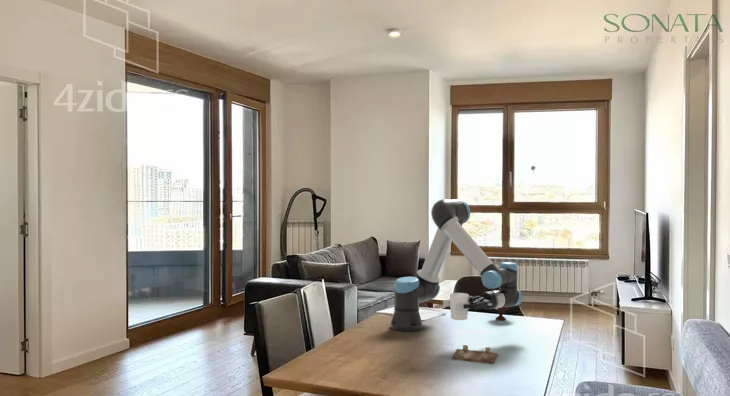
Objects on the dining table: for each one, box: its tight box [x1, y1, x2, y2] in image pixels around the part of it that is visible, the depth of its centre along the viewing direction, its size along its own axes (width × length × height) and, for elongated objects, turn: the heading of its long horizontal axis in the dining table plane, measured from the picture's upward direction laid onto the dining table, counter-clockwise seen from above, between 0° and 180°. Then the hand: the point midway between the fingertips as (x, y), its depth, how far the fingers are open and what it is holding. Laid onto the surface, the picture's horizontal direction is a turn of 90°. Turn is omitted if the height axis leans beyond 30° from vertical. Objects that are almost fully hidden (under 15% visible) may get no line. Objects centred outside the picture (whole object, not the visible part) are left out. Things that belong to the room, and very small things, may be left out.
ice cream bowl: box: [493, 307, 511, 322], centre depth 292 cm, size 11×11×15 cm
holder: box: [451, 344, 498, 365], centre depth 226 cm, size 16×12×3 cm
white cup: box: [449, 292, 470, 321], centre depth 240 cm, size 8×8×10 cm
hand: (450, 305), depth 238 cm, fingers closed on white cup, 7 cm apart
